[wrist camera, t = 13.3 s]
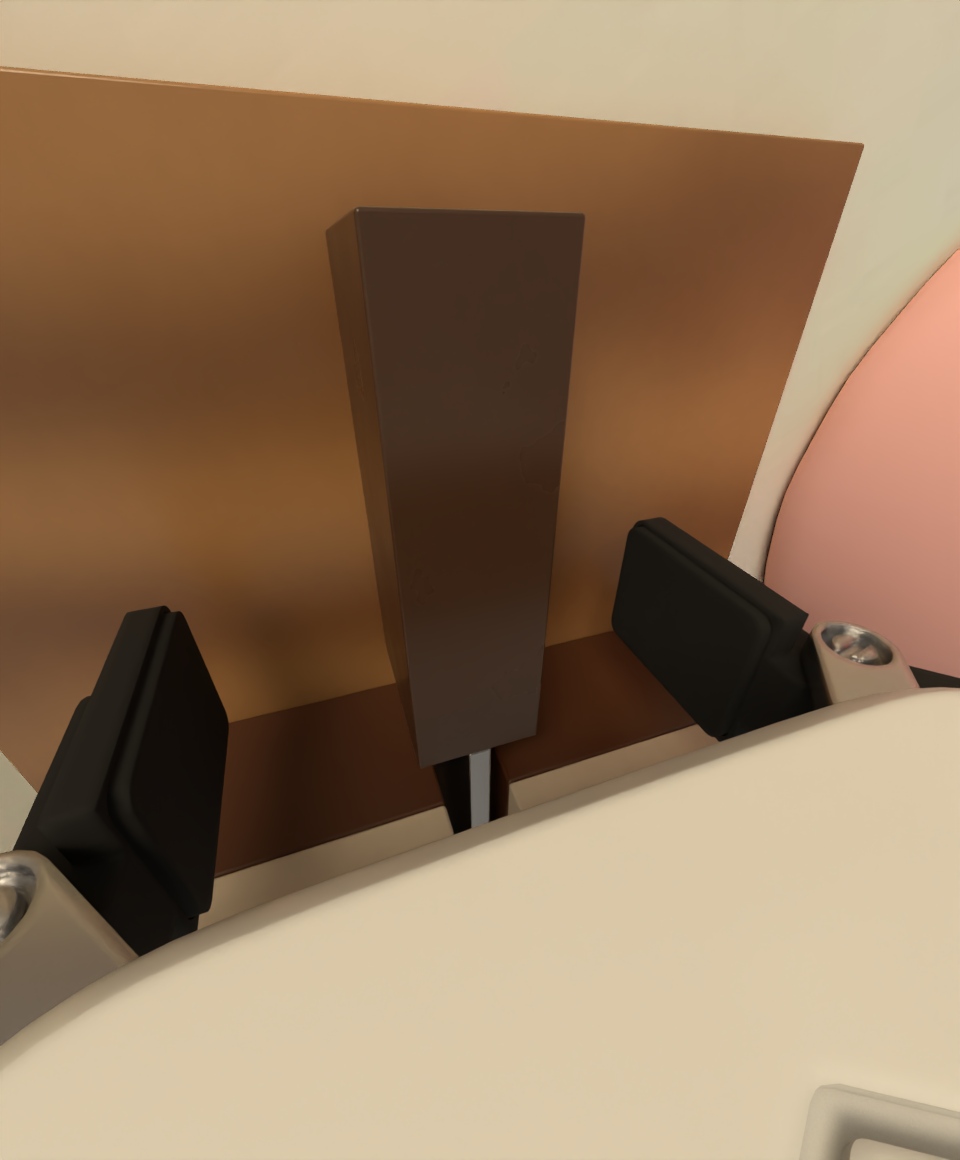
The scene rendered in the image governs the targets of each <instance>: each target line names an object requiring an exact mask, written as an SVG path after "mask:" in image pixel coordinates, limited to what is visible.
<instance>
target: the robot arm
mask: <svg viewBox="0 0 960 1160" xmlns="http://www.w3.org/2000/svg"><path fill="white" fill-rule="evenodd" d="M808 616H809V614H808V613H806V612H805V611H803V610H802V609H800V608H799V607H797V606H796V605H794V604H793V603H791V602H790V601H788V600H787V599H785V598H784V597H782V596H781V595H779V594H778V593H776V592H775V591H773V590H772V589H770V588H769V587H767V586H766V585H764V584H763V583H761V582H760V581H758V580H757V579H755V578H754V577H752V576H751V575H749V574H748V573H746V572H745V571H743V570H742V569H740V568H739V567H737V566H736V565H734V564H733V563H731V562H730V561H728V560H727V559H725V558H724V557H722V556H721V555H719V554H718V553H716V552H715V551H713V550H712V549H710V548H709V547H707V546H706V545H704V544H703V543H701V542H700V541H698V540H697V539H695V538H694V537H692V536H691V535H689V534H688V533H686V532H685V531H683V530H682V529H680V528H679V527H677V526H676V525H674V524H673V523H671V522H670V521H668V520H667V519H665V518H663V517H657V518H651V519H646V520H640V521H638V522H636V523H635V525H634V526H633V528H632V529H630V531H629V532H628V535H627V540H626V545H625V551H624V556H623V561H622V566H621V571H620V576H619V581H618V587H617V592H616V597H615V602H614V607H613V612H612V617H611V624H612V628H613V630H614V632H615V633H616V635H617V636H618V637H619V638H620V639H621V640H622V641H623V642H624V644H625V645H626V646H627V647H628V648H629V649H630V650H631V651H632V652H633V653H634V655H635V656H636V657H637V658H638V659H639V660H640V661H641V662H642V663H643V665H644V666H645V667H646V668H647V669H648V670H649V671H650V672H651V673H652V674H653V676H654V677H655V678H656V679H657V680H658V681H659V682H660V683H661V684H662V685H663V687H664V688H665V689H666V690H667V691H668V692H669V693H670V694H671V695H672V696H673V698H674V699H675V700H676V701H677V702H678V703H679V704H680V705H681V706H682V708H683V709H684V710H685V711H686V712H687V713H688V714H689V715H690V716H691V717H692V719H693V720H694V721H695V722H696V723H697V724H698V725H699V726H700V727H701V728H702V730H703V731H704V732H705V733H706V734H707V735H709V736H711V737H715V738H716V739H717V740H718V741H719V742H718V743H716V744H713V745H710V746H707V747H704V748H701V749H698V750H695V751H692V752H689V753H686V754H683V755H680V756H677V757H675V758H672V759H669V760H666V761H663V762H660V763H657V764H654V765H651V766H649V767H646V768H643V769H640V770H637V771H634V772H631V773H628V774H626V775H623V776H620V777H617V778H614V779H611V780H608V781H605V782H602V783H600V784H597V785H594V786H591V787H588V788H585V789H582V790H580V791H577V792H574V793H571V794H568V795H565V796H562V797H559V798H557V799H554V800H551V801H548V802H545V803H542V804H539V805H537V806H534V807H531V808H528V809H525V810H522V811H519V812H517V813H514V814H511V815H508V816H505V817H502V818H500V819H497V820H494V821H491V822H488V823H485V824H483V825H480V826H477V827H474V828H471V829H468V830H466V831H463V832H460V833H457V834H454V835H452V836H449V837H446V838H443V839H440V840H437V841H435V842H432V843H429V844H426V845H423V846H420V847H418V848H415V849H412V850H409V851H406V852H403V853H401V854H398V855H395V856H392V857H389V858H387V859H384V860H381V861H378V862H375V863H372V864H370V865H367V866H364V867H361V868H358V869H356V870H353V871H350V872H348V873H345V874H342V875H339V876H337V877H334V878H331V879H329V880H326V881H323V882H321V883H318V884H315V885H313V886H310V887H307V888H304V889H302V890H299V891H296V892H294V893H291V894H288V895H286V896H283V897H280V898H278V899H275V900H272V901H270V902H267V903H264V904H261V905H259V906H256V907H253V908H251V909H248V910H245V911H243V912H240V913H238V914H235V915H233V916H230V917H228V918H226V919H223V920H221V921H218V922H216V923H214V924H211V925H209V926H206V927H204V928H202V929H199V930H198V921H199V915H200V914H203V913H206V912H208V911H209V910H210V907H211V904H212V898H213V887H214V877H215V867H216V857H217V847H218V836H219V826H220V816H221V806H222V796H223V786H224V775H225V765H226V755H227V745H228V735H229V723H228V717H227V713H226V710H225V708H224V706H223V704H222V701H221V699H220V697H219V694H218V692H217V690H216V687H215V685H214V683H213V681H212V678H211V676H210V674H209V671H208V669H207V667H206V665H205V662H204V660H203V658H202V655H201V653H200V651H199V648H198V646H197V644H196V642H195V639H194V637H193V635H192V632H191V630H190V628H189V625H188V623H187V621H186V619H185V617H184V615H183V613H182V612H181V611H176V612H171V611H170V609H169V608H168V607H167V606H165V605H164V606H158V607H153V608H147V609H141V610H136V611H130V612H127V613H126V615H125V616H124V618H123V621H122V623H121V626H120V628H119V630H118V633H117V635H116V637H115V640H114V642H113V645H112V647H111V649H110V652H109V654H108V656H107V659H106V661H105V664H104V666H103V668H102V671H101V673H100V675H99V678H98V680H97V683H96V685H95V687H94V690H93V692H92V694H91V696H87V697H85V698H84V699H82V700H81V701H80V702H79V704H78V706H77V707H76V709H75V711H74V713H73V716H72V718H71V720H70V722H69V725H68V727H67V729H66V731H65V734H64V736H63V738H62V740H61V743H60V745H59V747H58V749H57V752H56V754H55V756H54V758H53V761H52V763H51V765H50V767H49V770H48V772H47V774H46V776H45V779H44V781H43V783H42V785H41V788H40V790H39V792H38V794H37V797H36V799H35V801H34V803H33V806H32V808H31V810H30V812H29V815H28V817H27V819H26V821H25V824H24V826H23V828H22V831H21V833H20V835H19V837H18V840H17V842H16V844H15V846H14V849H13V851H10V852H6V853H1V854H0V1160H960V678H957V677H953V676H949V675H945V674H941V673H937V672H933V671H929V670H925V669H921V668H917V667H913V666H909V665H908V664H907V662H906V660H905V658H904V656H903V654H902V653H901V651H900V650H899V649H898V647H897V646H896V645H895V644H893V643H892V642H891V641H890V640H888V639H887V638H886V637H884V636H882V635H881V634H879V633H877V632H875V631H873V630H871V629H868V628H866V627H864V626H861V625H858V624H854V623H850V622H845V621H837V620H830V621H822V622H820V623H817V624H816V625H815V626H814V627H813V628H812V630H811V632H810V634H809V633H807V632H806V631H805V630H803V629H802V628H803V626H804V624H805V622H806V620H807V618H808Z"/></svg>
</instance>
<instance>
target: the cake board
mask: <svg viewBox="0 0 960 1160" xmlns="http://www.w3.org/2000/svg"><path fill="white" fill-rule="evenodd" d="M863 148H864V144H862V143H854V142H842V141H831V140H820V139H809V138H798V137H786V136H775V135H764V134H753V133H742V132H730V131H719V130H708V129H697V128H686V127H674V126H663V125H652V124H641V123H630V122H618V121H607V120H596V119H585V118H574V117H562V116H551V115H540V114H529V113H518V112H506V111H495V110H484V109H473V108H462V107H450V106H439V105H428V104H417V103H406V102H394V101H383V100H372V99H361V98H350V97H338V96H327V95H316V94H305V93H294V92H282V91H271V90H260V89H249V88H238V87H226V86H215V85H204V84H193V83H182V82H170V81H159V80H148V79H137V78H126V77H114V76H103V75H92V74H81V73H70V72H58V71H47V70H36V69H25V68H14V67H2V66H0V750H1V751H2V753H3V754H4V755H5V756H6V757H7V758H8V759H9V761H10V762H11V763H12V764H13V765H14V766H15V768H16V769H17V770H18V771H19V772H20V773H21V774H22V776H23V777H24V778H25V779H26V780H27V781H28V782H29V784H30V785H31V786H32V787H33V788H34V789H35V791H36V792H37V793H38V792H39V790H40V788H41V785H42V783H43V781H44V779H45V776H46V774H47V772H48V770H49V767H50V765H51V763H52V761H53V758H54V756H55V754H56V752H57V749H58V747H59V745H60V743H61V740H62V738H63V736H64V734H65V731H66V729H67V727H68V725H69V722H70V720H71V718H72V716H73V713H74V711H75V709H76V707H77V706H78V704H79V702H80V701H81V700H82V699H84V698H85V697H87V696H91V694H92V692H93V690H94V687H95V685H96V683H97V680H98V678H99V675H100V673H101V671H102V668H103V666H104V664H105V661H106V659H107V656H108V654H109V652H110V649H111V647H112V645H113V642H114V640H115V637H116V635H117V633H118V630H119V628H120V626H121V623H122V621H123V618H124V616H125V615H126V613H127V612H130V611H136V610H141V609H147V608H153V607H158V606H164V605H165V606H167V607H168V608H169V609H170V611H171V612H176V611H181V612H182V613H183V615H184V617H185V619H186V621H187V623H188V625H189V628H190V630H191V632H192V635H193V637H194V639H195V642H196V644H197V646H198V648H199V651H200V653H201V655H202V658H203V660H204V662H205V665H206V667H207V669H208V671H209V674H210V676H211V678H212V681H213V683H214V685H215V687H216V690H217V692H218V694H219V697H220V699H221V701H222V704H223V706H224V708H225V710H226V713H227V717H228V723H232V722H236V721H240V720H244V719H248V718H252V717H257V716H261V715H265V714H269V713H273V712H277V711H281V710H286V709H290V708H294V707H298V706H302V705H306V704H310V703H315V702H319V701H323V700H327V699H331V698H335V697H340V696H344V695H348V694H352V693H356V692H360V691H364V690H369V689H373V688H377V687H381V686H385V685H389V684H393V683H396V681H395V677H394V674H393V670H392V666H391V663H390V659H389V655H388V651H387V648H386V643H385V636H384V630H383V623H382V616H381V609H380V602H379V595H378V589H377V582H376V575H375V568H374V561H373V554H372V548H371V541H370V534H369V527H368V520H367V513H366V507H365V500H364V493H363V486H362V479H361V472H360V466H359V459H358V452H357V445H356V438H355V431H354V425H353V418H352V411H351V404H350V397H349V390H348V384H347V377H346V370H345V363H344V356H343V350H342V343H341V336H340V329H339V322H338V315H337V309H336V302H335V295H334V288H333V281H332V274H331V268H330V261H329V254H328V247H327V240H326V233H325V232H326V229H327V228H329V227H330V226H331V225H333V224H334V223H335V222H336V221H338V220H339V219H340V218H342V217H343V216H344V215H346V214H347V213H348V212H350V211H351V210H352V209H353V208H355V207H357V206H376V207H411V208H446V209H481V210H516V211H551V212H582V213H583V214H585V218H586V219H585V229H584V240H583V250H582V261H581V271H580V282H579V292H578V303H577V313H576V324H575V334H574V345H573V355H572V366H571V376H570V387H569V397H568V408H567V418H566V429H565V439H564V450H563V460H562V471H561V481H560V492H559V502H558V513H557V523H556V534H555V544H554V555H553V565H552V576H551V586H550V597H549V607H548V618H547V628H546V639H545V647H548V646H552V645H556V644H560V643H565V642H569V641H573V640H577V639H581V638H585V637H589V636H594V635H598V634H602V633H606V632H610V631H614V630H613V628H612V624H611V617H612V612H613V607H614V602H615V597H616V592H617V587H618V581H619V576H620V571H621V566H622V561H623V556H624V551H625V545H626V540H627V535H628V532H629V531H630V529H632V528H633V526H634V525H635V523H636V522H638V521H640V520H646V519H651V518H657V517H663V518H665V519H667V520H668V521H670V522H671V523H673V524H674V525H676V526H677V527H679V528H680V529H682V530H683V531H685V532H686V533H688V534H689V535H691V536H692V537H694V538H695V539H697V540H698V541H700V542H701V543H703V544H704V545H706V546H707V547H709V548H710V549H712V550H713V551H715V552H716V553H718V554H719V555H721V556H722V557H724V558H725V559H727V560H728V557H729V554H730V551H731V548H732V545H733V542H734V539H735V536H736V533H737V530H738V527H739V524H740V521H741V518H742V515H743V511H744V508H745V505H746V502H747V499H748V496H749V493H750V490H751V487H752V484H753V481H754V478H755V475H756V472H757V469H758V466H759V463H760V460H761V457H762V454H763V451H764V448H765V445H766V442H767V439H768V436H769V433H770V430H771V427H772V424H773V421H774V418H775V415H776V412H777V409H778V406H779V403H780V400H781V397H782V393H783V390H784V387H785V384H786V381H787V378H788V375H789V372H790V369H791V366H792V363H793V360H794V357H795V354H796V351H797V348H798V345H799V342H800V339H801V336H802V333H803V330H804V327H805V324H806V321H807V318H808V315H809V312H810V309H811V306H812V303H813V300H814V297H815V294H816V291H817V288H818V285H819V282H820V278H821V275H822V272H823V269H824V266H825V263H826V260H827V257H828V254H829V251H830V248H831V245H832V242H833V239H834V236H835V233H836V230H837V227H838V224H839V221H840V218H841V215H842V212H843V209H844V206H845V203H846V200H847V197H848V194H849V191H850V188H851V185H852V182H853V179H854V176H855V173H856V170H857V167H858V163H859V160H860V157H861V154H862V151H863ZM433 766H434V769H435V772H436V776H437V766H436V764H435V765H433ZM437 779H438V778H437Z"/></svg>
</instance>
